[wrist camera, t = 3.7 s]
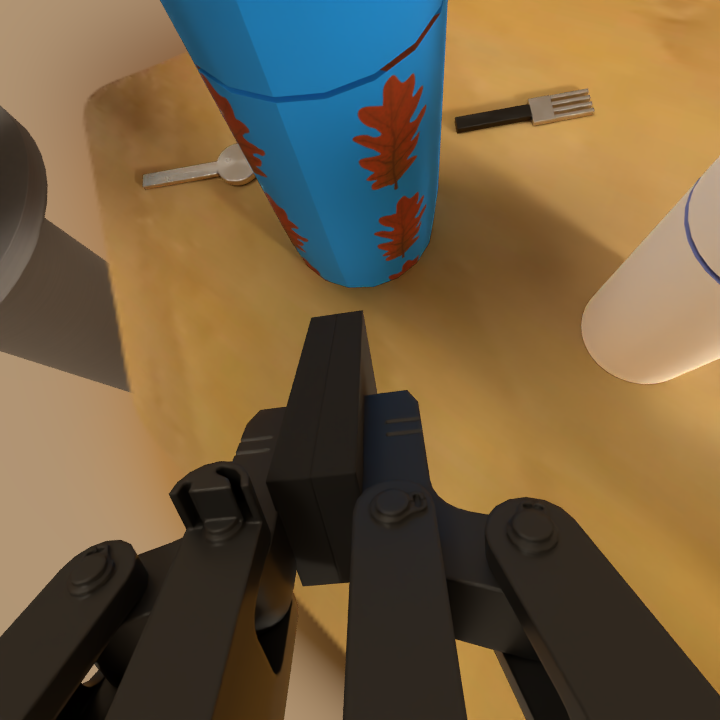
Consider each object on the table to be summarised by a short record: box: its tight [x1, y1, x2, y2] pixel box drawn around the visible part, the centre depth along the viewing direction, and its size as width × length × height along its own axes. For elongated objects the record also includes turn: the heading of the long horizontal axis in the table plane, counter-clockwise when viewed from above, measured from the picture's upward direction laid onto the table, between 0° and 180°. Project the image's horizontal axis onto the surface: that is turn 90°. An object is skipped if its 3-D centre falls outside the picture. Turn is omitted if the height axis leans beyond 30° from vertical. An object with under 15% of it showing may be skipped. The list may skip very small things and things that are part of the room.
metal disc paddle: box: [143, 143, 256, 190], centre depth 37 cm, size 10×4×1 cm, turn 96°
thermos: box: [160, 0, 448, 288], centre depth 22 cm, size 11×11×25 cm
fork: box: [455, 89, 594, 133], centre depth 35 cm, size 10×2×1 cm, turn 96°
